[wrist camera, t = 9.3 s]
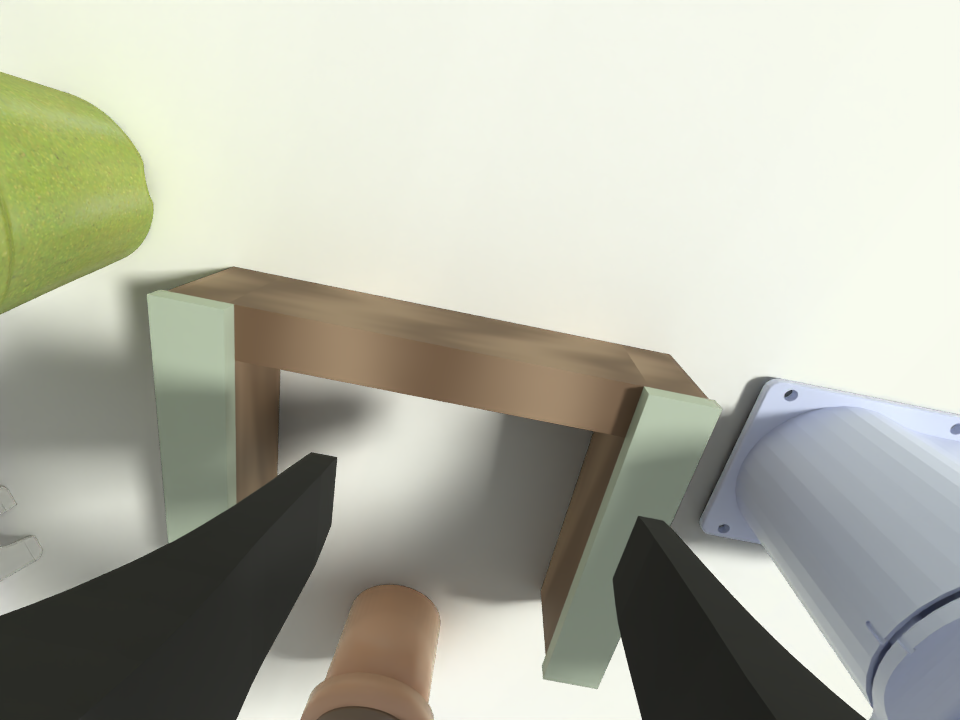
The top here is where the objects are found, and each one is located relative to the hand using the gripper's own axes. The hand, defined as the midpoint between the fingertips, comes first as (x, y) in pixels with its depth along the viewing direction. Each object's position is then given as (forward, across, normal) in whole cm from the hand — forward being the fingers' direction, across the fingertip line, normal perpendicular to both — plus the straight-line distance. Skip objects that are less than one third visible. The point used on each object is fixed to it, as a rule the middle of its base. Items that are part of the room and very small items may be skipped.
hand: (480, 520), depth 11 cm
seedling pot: (+9, +2, +16) cm, 19 cm away
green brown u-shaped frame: (+9, +2, +6) cm, 11 cm away
